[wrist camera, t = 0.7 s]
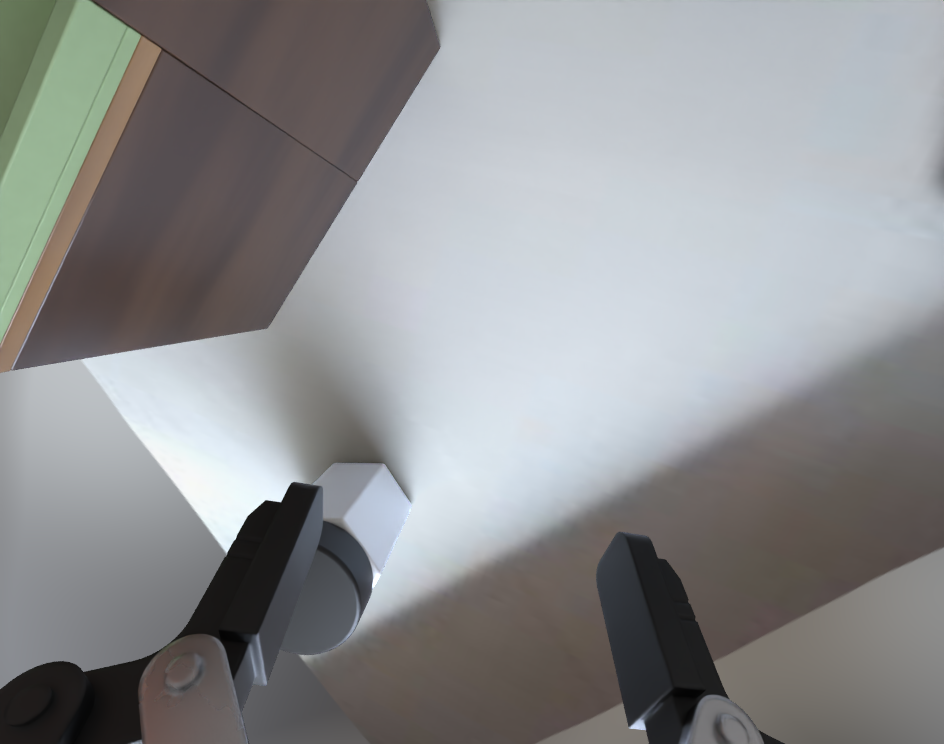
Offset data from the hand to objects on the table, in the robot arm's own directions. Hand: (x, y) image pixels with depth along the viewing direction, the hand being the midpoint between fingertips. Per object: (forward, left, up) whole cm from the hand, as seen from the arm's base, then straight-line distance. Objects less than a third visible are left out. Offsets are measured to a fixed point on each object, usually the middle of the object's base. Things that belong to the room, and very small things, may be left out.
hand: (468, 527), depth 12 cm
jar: (+16, -5, -24) cm, 29 cm away
